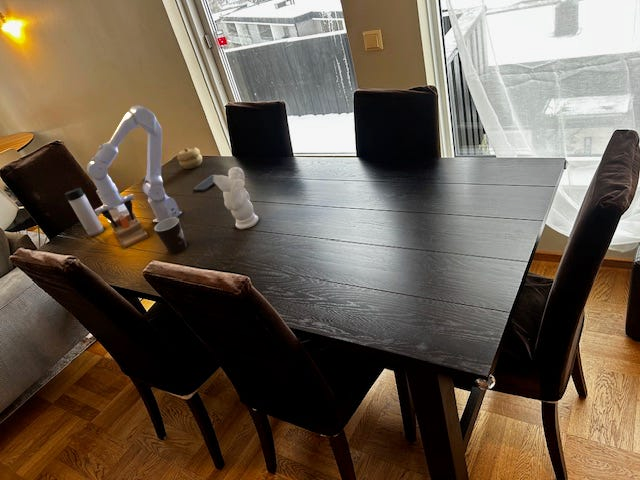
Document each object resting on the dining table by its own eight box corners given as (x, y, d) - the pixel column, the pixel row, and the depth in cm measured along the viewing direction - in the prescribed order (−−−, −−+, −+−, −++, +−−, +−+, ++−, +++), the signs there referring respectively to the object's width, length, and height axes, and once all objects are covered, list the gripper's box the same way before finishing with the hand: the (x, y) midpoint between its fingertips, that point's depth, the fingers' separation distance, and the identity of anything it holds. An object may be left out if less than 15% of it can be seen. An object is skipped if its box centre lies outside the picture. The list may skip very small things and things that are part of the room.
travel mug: (89, 238, 182) (63, 195, 172) (88, 232, 188) (63, 190, 177) (104, 232, 184) (80, 189, 174) (103, 226, 189) (79, 184, 179)
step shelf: (148, 237, 171) (141, 222, 168) (124, 248, 167) (116, 234, 164) (137, 221, 186) (130, 207, 183) (114, 231, 182) (106, 217, 179)
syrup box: (122, 218, 192) (106, 188, 184) (111, 220, 193) (95, 190, 186) (130, 212, 196) (114, 182, 189) (118, 213, 198) (103, 183, 190)
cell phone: (224, 176, 206) (224, 174, 206) (205, 190, 197) (204, 189, 196) (213, 175, 210) (212, 174, 209) (193, 190, 200) (192, 188, 200)
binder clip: (130, 226, 173) (125, 215, 171) (124, 229, 172) (119, 218, 170) (128, 222, 177) (122, 212, 174) (122, 225, 176) (116, 215, 173)
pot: (178, 173, 225) (170, 154, 220) (187, 163, 234) (180, 145, 229) (199, 169, 222) (191, 151, 217) (207, 160, 231) (200, 141, 226)
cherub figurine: (252, 213, 168) (233, 159, 156) (272, 220, 159) (254, 163, 148) (226, 229, 162) (204, 174, 150) (245, 237, 153) (224, 179, 142)
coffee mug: (177, 257, 153) (165, 232, 147) (161, 253, 157) (149, 229, 152) (200, 238, 160) (190, 214, 155) (184, 235, 165) (174, 212, 160)
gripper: (90, 203, 161) (108, 234, 168) (129, 186, 166) (145, 217, 173) (87, 197, 166) (104, 228, 173) (125, 182, 172) (141, 212, 179)
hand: (124, 222), depth 174 cm, fingers open, 6 cm apart
